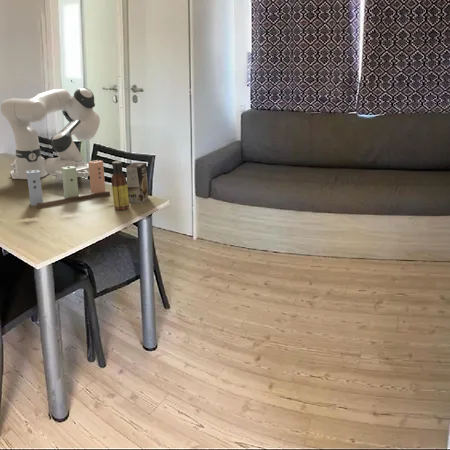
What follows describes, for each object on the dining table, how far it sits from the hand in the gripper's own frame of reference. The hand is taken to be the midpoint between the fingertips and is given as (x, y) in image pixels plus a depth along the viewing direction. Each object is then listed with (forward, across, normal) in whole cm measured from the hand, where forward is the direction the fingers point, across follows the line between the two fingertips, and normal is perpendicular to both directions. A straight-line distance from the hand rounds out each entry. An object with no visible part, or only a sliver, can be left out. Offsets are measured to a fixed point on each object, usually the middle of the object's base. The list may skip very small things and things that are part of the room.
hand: (86, 174), depth 253 cm
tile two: (+2, -29, +7) cm, 29 cm away
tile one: (+8, -15, +7) cm, 18 cm away
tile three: (+8, 0, +7) cm, 10 cm away
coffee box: (+30, +4, +8) cm, 31 cm away
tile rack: (+6, -14, +8) cm, 18 cm away
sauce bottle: (+32, -8, +8) cm, 35 cm away
